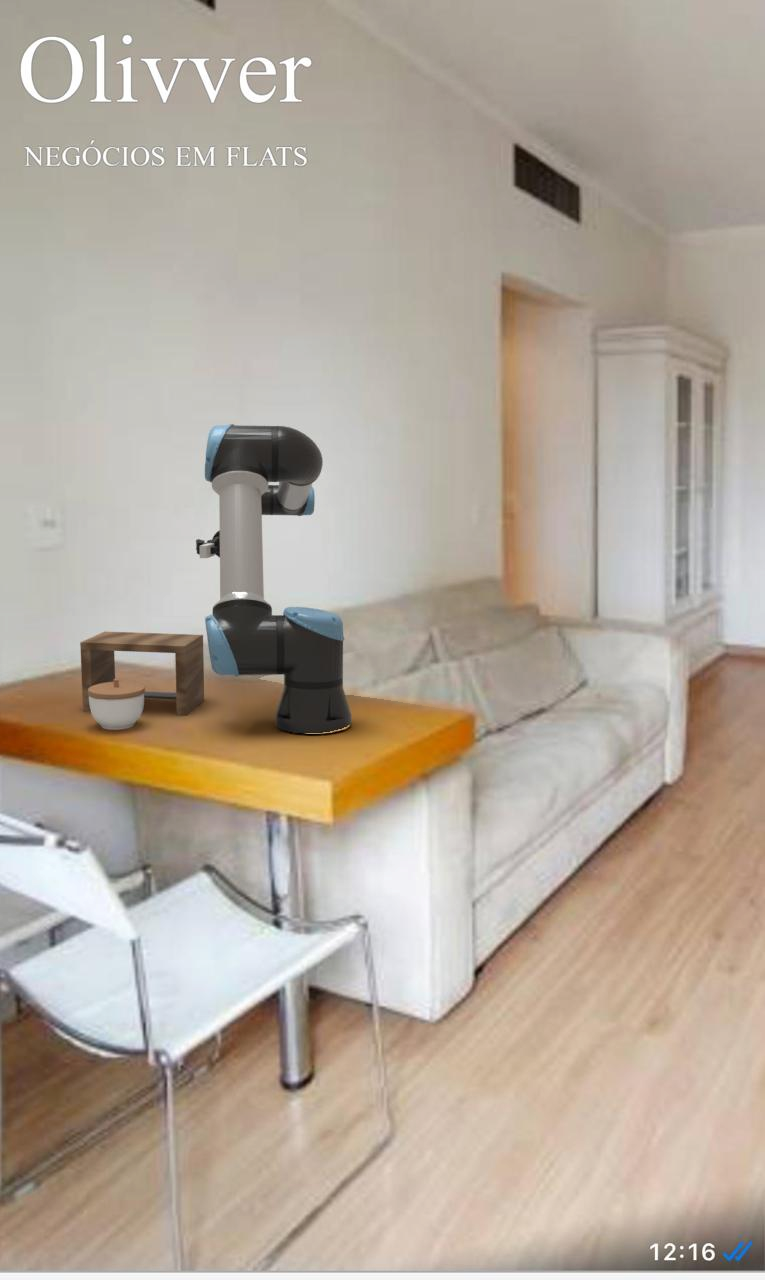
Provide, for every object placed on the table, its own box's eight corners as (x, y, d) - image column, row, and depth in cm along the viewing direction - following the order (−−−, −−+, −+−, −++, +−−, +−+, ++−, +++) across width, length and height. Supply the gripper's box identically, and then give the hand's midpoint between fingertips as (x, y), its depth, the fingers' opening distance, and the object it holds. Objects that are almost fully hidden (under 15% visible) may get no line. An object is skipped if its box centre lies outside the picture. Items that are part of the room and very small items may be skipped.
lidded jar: (129, 735, 183) (128, 687, 181) (78, 731, 185) (76, 683, 184) (155, 720, 193) (153, 675, 192) (106, 717, 196) (104, 672, 194)
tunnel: (204, 700, 210) (203, 635, 208) (186, 715, 198) (184, 646, 195) (107, 696, 212) (104, 631, 210) (83, 710, 200) (80, 642, 197)
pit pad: (200, 695, 214) (200, 693, 214) (195, 699, 211) (195, 698, 210) (122, 692, 216) (122, 690, 216) (115, 696, 212) (115, 694, 212)
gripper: (257, 559, 232) (232, 570, 209) (204, 557, 233) (174, 568, 210) (257, 528, 231) (232, 535, 208) (204, 526, 232) (173, 533, 209)
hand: (202, 552), depth 209 cm, fingers closed
